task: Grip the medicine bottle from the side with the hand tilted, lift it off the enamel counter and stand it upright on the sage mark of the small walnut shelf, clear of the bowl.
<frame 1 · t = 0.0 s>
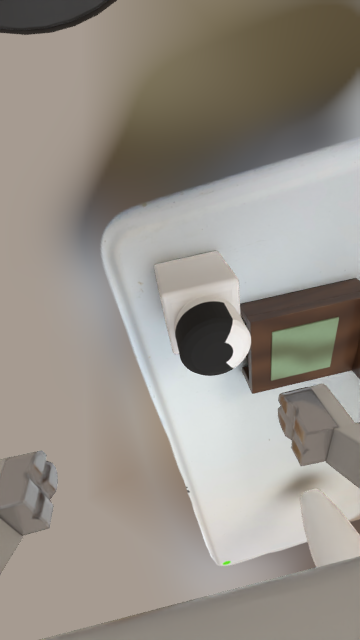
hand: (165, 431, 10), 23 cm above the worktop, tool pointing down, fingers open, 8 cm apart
cup: (303, 479, 65), on the worktop
medicine bottle: (190, 284, 34), on the worktop
shelf: (294, 329, 40), on the worktop
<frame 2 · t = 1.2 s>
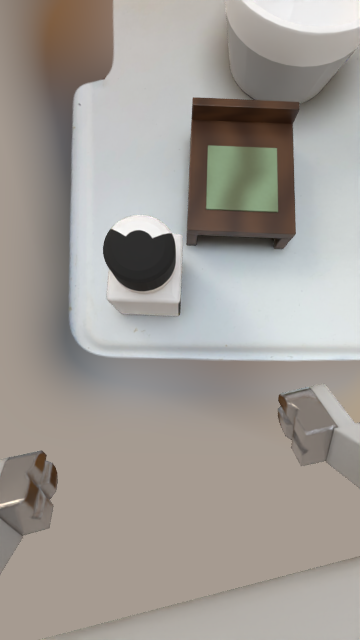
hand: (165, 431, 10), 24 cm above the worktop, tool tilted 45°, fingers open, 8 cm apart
bowl: (279, 64, 42), on the worktop
medicine bottle: (151, 287, 36), on the worktop
shelf: (235, 191, 38), on the worktop
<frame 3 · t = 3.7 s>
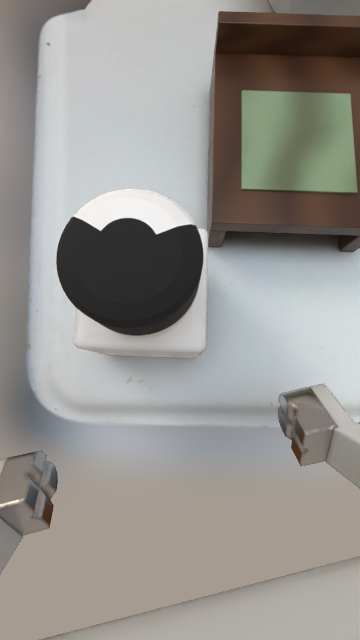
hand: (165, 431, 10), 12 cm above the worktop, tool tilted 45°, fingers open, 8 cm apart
medicine bottle: (154, 311, 23), on the worktop
shelf: (278, 167, 25), on the worktop
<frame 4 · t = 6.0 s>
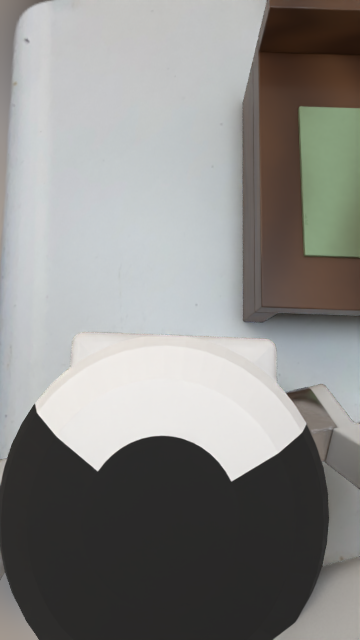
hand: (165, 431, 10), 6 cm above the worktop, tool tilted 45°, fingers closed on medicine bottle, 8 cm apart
medicine bottle: (173, 413, 17), on the worktop, touching gripper
shelf: (337, 208, 19), on the worktop
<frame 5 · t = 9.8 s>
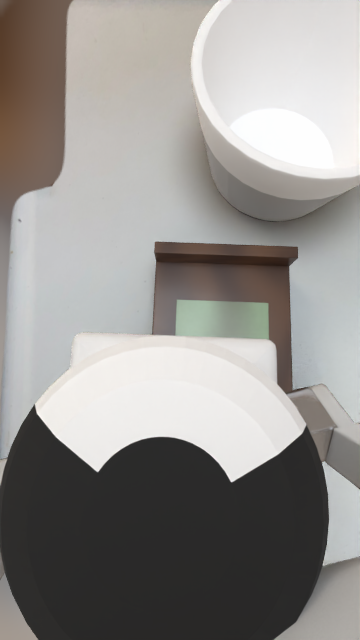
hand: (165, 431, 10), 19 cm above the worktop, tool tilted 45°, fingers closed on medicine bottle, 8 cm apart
bowl: (272, 164, 33), on the worktop
medicine bottle: (173, 413, 17), point 12 cm above the worktop, touching gripper
shelf: (216, 340, 29), on the worktop
when the fingers open (11 cm above the worktop, at t = 13.7 s): medicine bottle stays where it is, resting on shelf.
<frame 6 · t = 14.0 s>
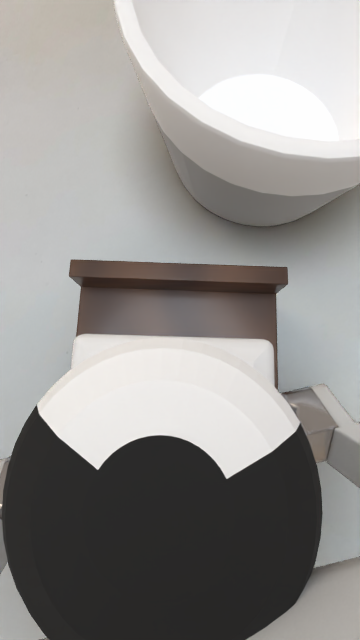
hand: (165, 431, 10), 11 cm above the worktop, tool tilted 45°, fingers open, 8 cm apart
bowl: (257, 149, 25), on the worktop
medicine bottle: (174, 413, 17), point 4 cm above the worktop, touching gripper, shelf
shelf: (175, 394, 21), on the worktop
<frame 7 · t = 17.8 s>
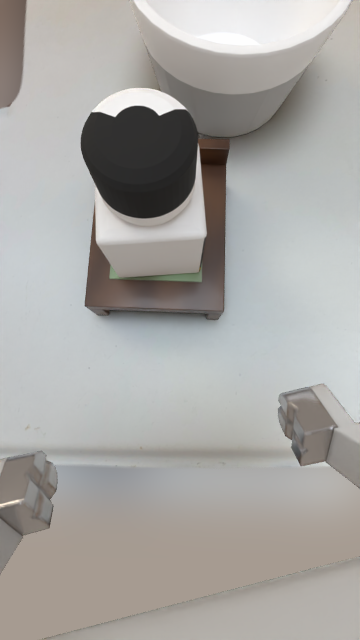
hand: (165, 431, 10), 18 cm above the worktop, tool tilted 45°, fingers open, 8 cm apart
bowl: (222, 85, 34), on the worktop
medicine bottle: (157, 238, 26), point 4 cm above the worktop, touching shelf
shelf: (161, 246, 31), on the worktop
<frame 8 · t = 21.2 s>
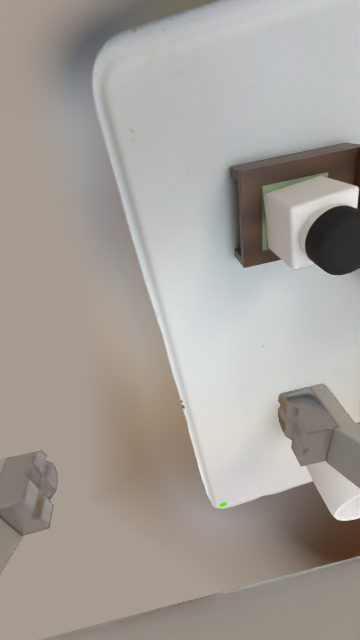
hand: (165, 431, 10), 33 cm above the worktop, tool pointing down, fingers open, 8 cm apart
cup: (297, 402, 66), on the worktop
medicine bottle: (291, 213, 37), point 4 cm above the worktop, touching shelf
shelf: (286, 204, 40), on the worktop
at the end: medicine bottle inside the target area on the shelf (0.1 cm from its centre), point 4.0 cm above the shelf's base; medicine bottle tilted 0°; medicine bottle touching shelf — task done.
